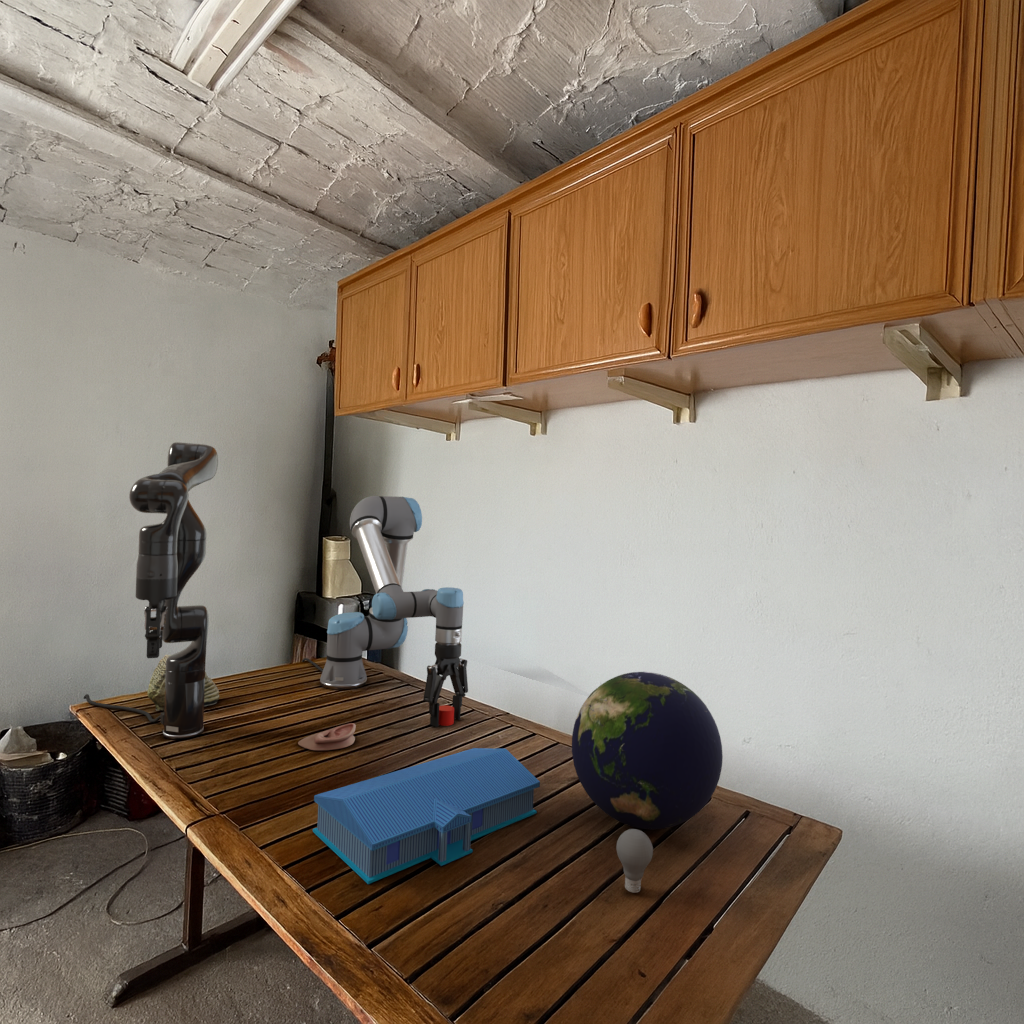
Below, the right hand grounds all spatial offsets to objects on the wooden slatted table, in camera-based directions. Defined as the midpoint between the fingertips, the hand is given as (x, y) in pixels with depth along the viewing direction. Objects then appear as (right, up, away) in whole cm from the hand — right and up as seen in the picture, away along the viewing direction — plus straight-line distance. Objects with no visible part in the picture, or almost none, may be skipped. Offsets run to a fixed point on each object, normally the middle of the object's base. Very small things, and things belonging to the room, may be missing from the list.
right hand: (445, 721), depth 181 cm
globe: (+46, -3, -52) cm, 69 cm away
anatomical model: (-28, +1, -18) cm, 34 cm away
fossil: (-77, +3, +4) cm, 77 cm away
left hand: (-56, +31, -49) cm, 80 cm away
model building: (+4, -2, -57) cm, 57 cm away
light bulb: (+39, -3, -75) cm, 85 cm away
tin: (0, 0, 0) cm, 0 cm away
